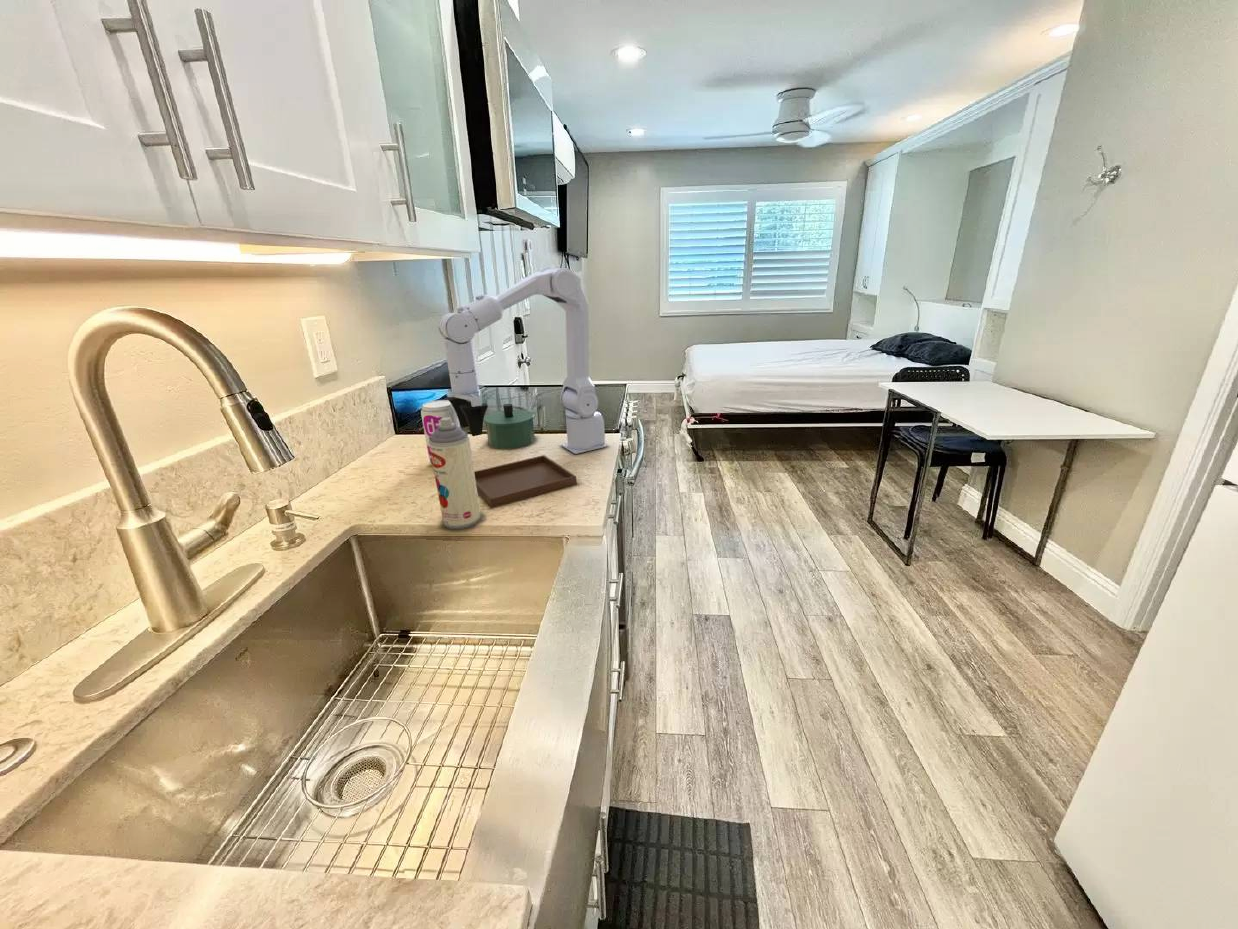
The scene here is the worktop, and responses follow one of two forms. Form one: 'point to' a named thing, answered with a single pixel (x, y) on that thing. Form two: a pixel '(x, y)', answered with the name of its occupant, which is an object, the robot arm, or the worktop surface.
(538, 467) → the tray
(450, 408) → the supplement can
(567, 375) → the robot arm
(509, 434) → the tin
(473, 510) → the aerosol can
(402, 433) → the worktop surface
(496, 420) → the tin lid
